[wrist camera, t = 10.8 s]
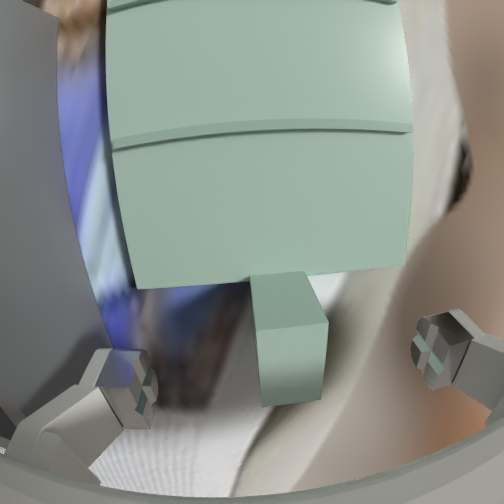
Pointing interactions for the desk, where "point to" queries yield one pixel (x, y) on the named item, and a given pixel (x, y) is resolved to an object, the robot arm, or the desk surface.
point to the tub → (37, 230)
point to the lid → (262, 156)
